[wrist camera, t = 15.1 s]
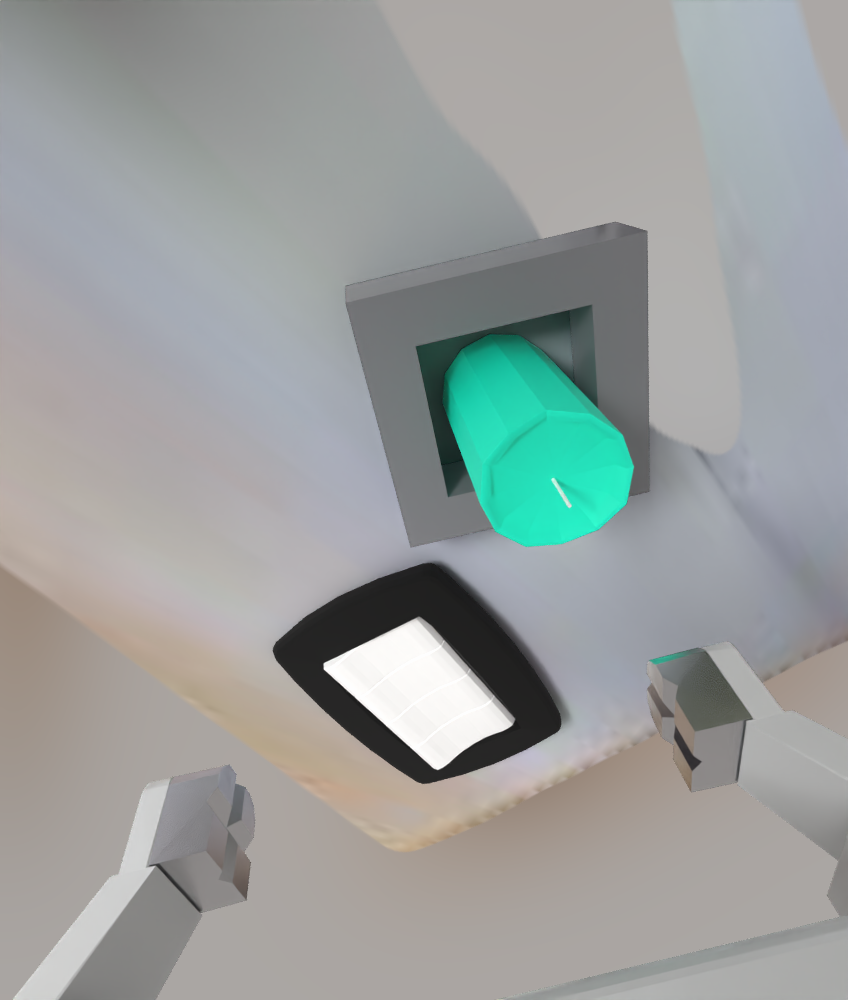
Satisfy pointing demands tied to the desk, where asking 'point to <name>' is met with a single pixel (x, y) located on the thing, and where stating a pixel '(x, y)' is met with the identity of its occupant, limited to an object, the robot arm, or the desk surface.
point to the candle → (534, 443)
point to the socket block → (492, 303)
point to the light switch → (420, 675)
